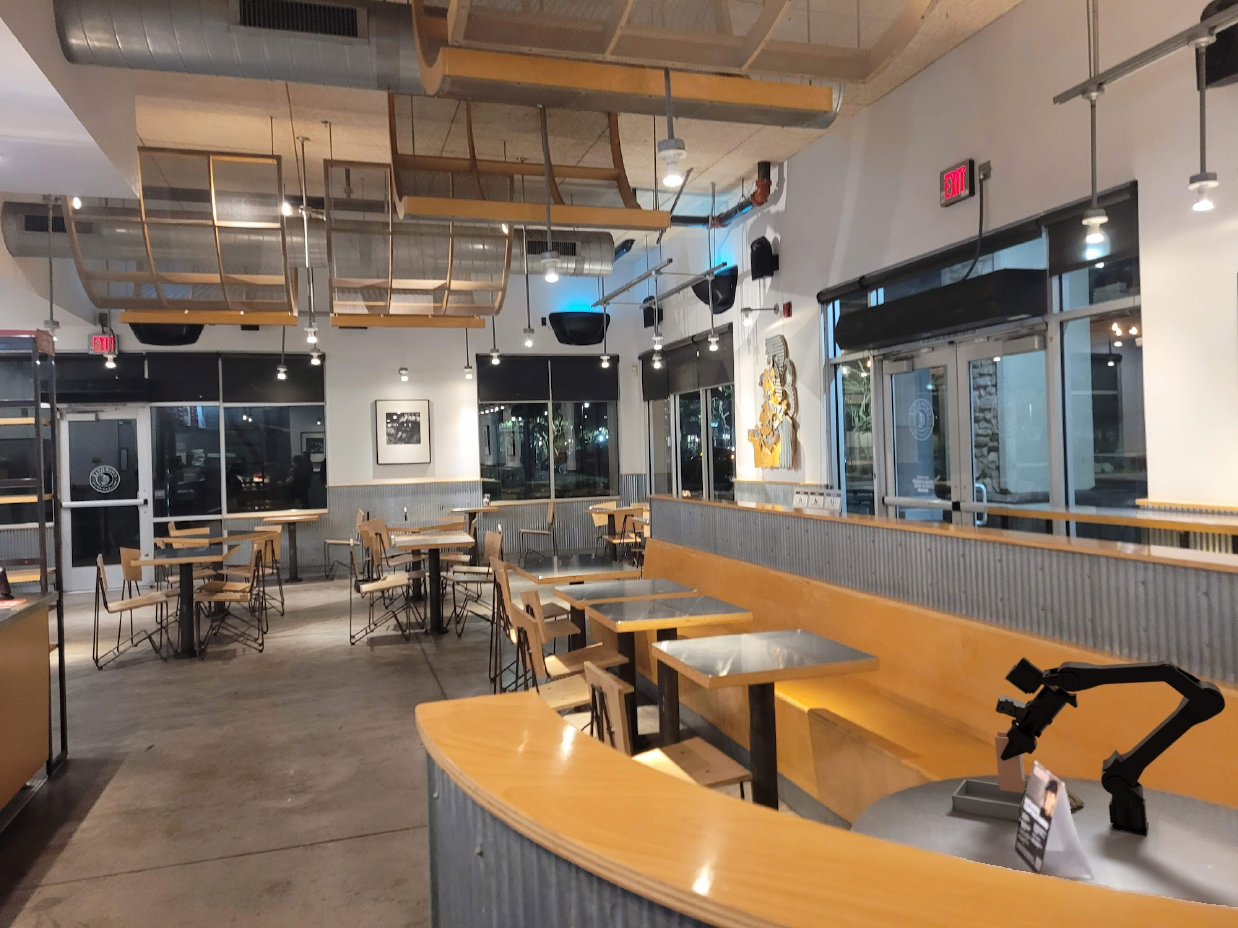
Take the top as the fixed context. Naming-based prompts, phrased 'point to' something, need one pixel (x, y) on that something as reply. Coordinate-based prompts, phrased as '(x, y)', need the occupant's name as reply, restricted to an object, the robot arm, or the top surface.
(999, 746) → the brown rectangular block
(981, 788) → the tray
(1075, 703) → the robot arm
